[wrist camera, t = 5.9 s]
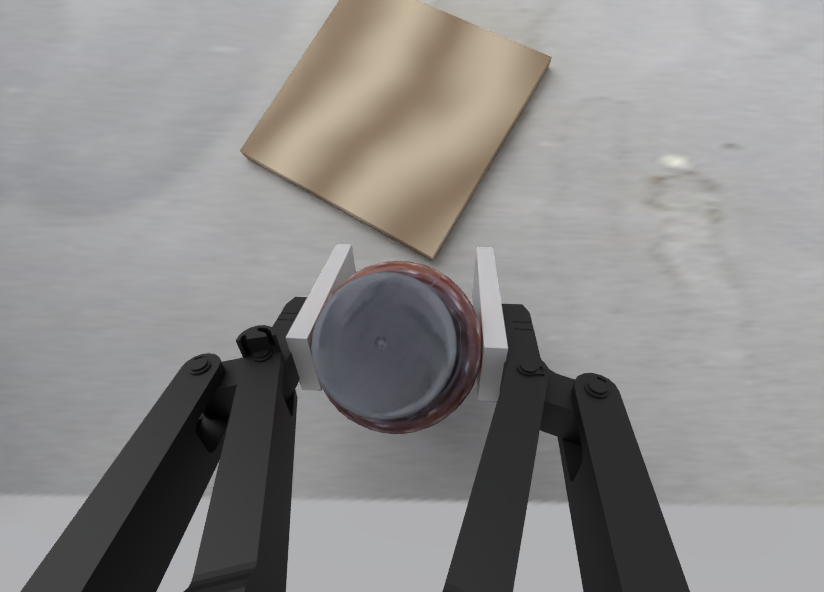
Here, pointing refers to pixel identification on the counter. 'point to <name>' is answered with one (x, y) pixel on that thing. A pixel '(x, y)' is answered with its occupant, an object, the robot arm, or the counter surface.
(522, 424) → the robot arm
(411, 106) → the oak pad
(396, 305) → the supplement bottle
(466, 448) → the counter surface
